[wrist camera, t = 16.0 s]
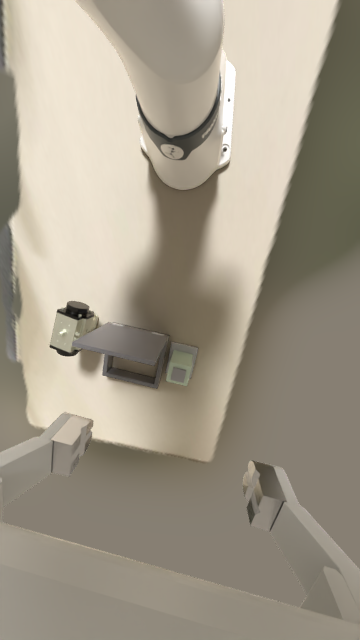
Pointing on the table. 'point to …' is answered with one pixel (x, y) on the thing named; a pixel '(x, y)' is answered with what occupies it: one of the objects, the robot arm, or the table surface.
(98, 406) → the table surface
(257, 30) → the table surface
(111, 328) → the case
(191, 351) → the pad
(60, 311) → the pneumatic valve
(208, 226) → the table surface
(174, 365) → the block
